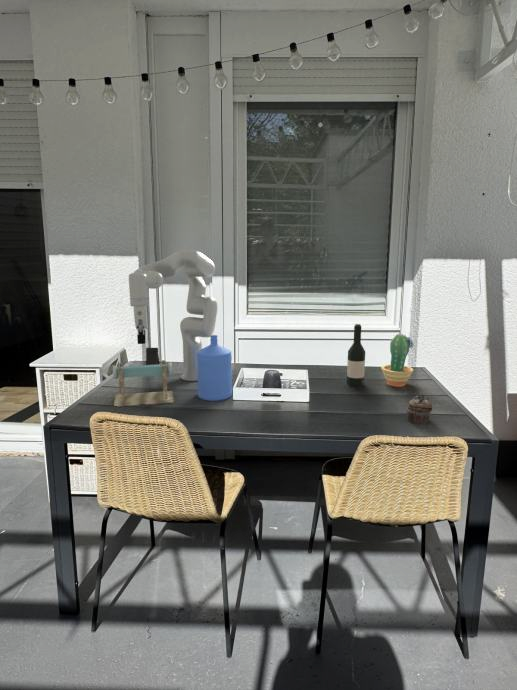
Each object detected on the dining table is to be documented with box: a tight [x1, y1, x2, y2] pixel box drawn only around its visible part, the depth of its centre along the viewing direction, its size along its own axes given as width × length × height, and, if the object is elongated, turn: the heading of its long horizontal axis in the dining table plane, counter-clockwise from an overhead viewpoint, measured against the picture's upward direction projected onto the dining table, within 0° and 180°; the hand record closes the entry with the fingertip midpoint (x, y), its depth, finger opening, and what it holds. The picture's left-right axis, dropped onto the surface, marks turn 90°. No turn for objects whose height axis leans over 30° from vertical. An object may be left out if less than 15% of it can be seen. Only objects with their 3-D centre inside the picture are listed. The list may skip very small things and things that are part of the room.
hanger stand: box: [113, 359, 174, 407], centre depth 216 cm, size 25×12×16 cm, turn 103°
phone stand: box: [145, 347, 161, 365], centre depth 267 cm, size 9×6×12 cm, turn 178°
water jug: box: [197, 334, 233, 402], centre depth 221 cm, size 16×16×28 cm
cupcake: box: [405, 394, 433, 424], centre depth 194 cm, size 10×10×10 cm
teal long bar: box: [112, 361, 173, 380], centre depth 215 cm, size 25×6×6 cm, turn 103°
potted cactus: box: [380, 333, 414, 388], centre depth 239 cm, size 15×15×25 cm
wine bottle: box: [346, 323, 366, 388], centre depth 238 cm, size 8×8×30 cm
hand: (141, 341), depth 212 cm, fingers open, 9 cm apart
